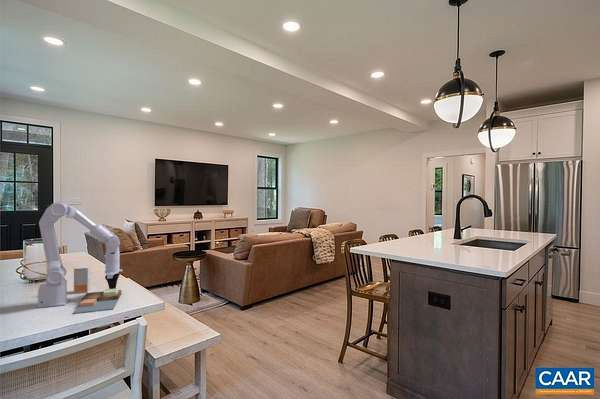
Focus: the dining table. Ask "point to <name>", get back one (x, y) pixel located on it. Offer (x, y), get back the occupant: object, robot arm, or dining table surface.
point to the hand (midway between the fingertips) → (112, 289)
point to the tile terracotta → (88, 302)
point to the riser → (101, 296)
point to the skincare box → (82, 279)
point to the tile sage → (110, 292)
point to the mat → (97, 307)
